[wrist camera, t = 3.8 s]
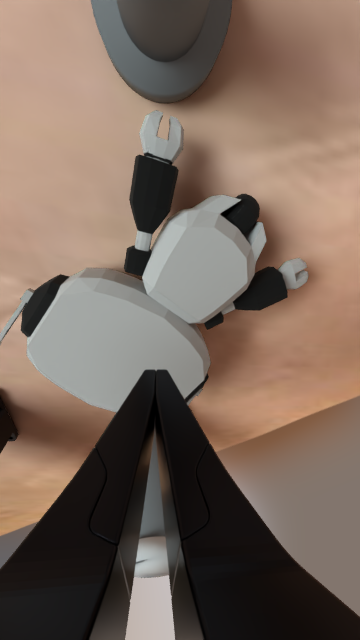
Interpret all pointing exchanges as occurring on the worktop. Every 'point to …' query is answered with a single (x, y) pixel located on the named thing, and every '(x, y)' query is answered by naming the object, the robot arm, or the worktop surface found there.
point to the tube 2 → (152, 527)
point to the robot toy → (153, 289)
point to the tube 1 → (163, 43)
